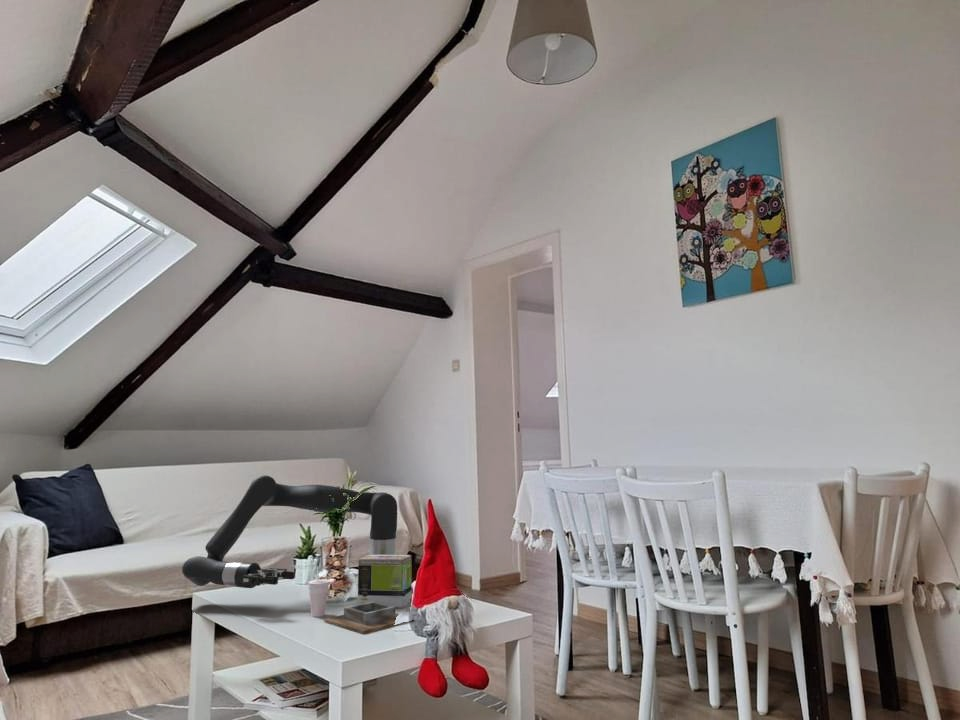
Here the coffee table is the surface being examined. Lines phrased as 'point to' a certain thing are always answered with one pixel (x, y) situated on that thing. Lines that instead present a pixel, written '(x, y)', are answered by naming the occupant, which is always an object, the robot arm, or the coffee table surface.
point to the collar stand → (365, 617)
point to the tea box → (385, 579)
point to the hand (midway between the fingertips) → (285, 578)
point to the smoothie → (318, 595)
